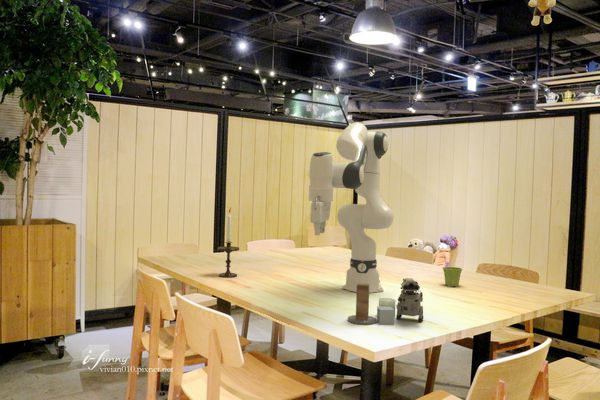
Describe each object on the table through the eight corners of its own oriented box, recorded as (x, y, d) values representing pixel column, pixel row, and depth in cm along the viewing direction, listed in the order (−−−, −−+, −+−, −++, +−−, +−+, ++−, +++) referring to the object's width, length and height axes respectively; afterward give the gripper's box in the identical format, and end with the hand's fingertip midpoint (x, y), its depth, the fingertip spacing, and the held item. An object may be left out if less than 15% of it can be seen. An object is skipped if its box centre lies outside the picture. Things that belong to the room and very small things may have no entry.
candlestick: (242, 277, 255) (244, 207, 254) (222, 278, 249) (224, 207, 248) (232, 273, 264) (234, 206, 263) (213, 275, 258) (215, 206, 257)
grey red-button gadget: (392, 323, 175) (394, 280, 174) (399, 316, 185) (400, 275, 185) (419, 327, 171) (420, 282, 171) (424, 319, 182) (426, 277, 181)
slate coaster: (349, 316, 183) (349, 314, 183) (377, 318, 181) (377, 316, 180) (345, 323, 173) (346, 321, 173) (375, 325, 171) (375, 323, 171)
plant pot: (438, 285, 247) (439, 267, 247) (447, 283, 254) (448, 266, 253) (456, 288, 240) (457, 270, 240) (465, 286, 247) (465, 268, 247)
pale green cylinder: (378, 313, 188) (379, 297, 188) (395, 314, 187) (395, 298, 187) (377, 317, 182) (378, 300, 182) (394, 318, 181) (395, 302, 181)
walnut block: (357, 316, 179) (358, 283, 179) (368, 317, 178) (369, 283, 178) (355, 319, 175) (356, 285, 175) (367, 320, 174) (368, 285, 174)
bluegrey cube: (376, 320, 178) (377, 306, 178) (390, 320, 179) (391, 306, 178) (379, 324, 173) (380, 309, 173) (394, 324, 174) (394, 310, 173)
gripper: (324, 197, 174) (323, 237, 175) (333, 196, 194) (332, 232, 195) (306, 196, 176) (305, 236, 176) (317, 195, 196) (316, 231, 196)
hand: (319, 234), depth 185 cm, fingers open, 8 cm apart
